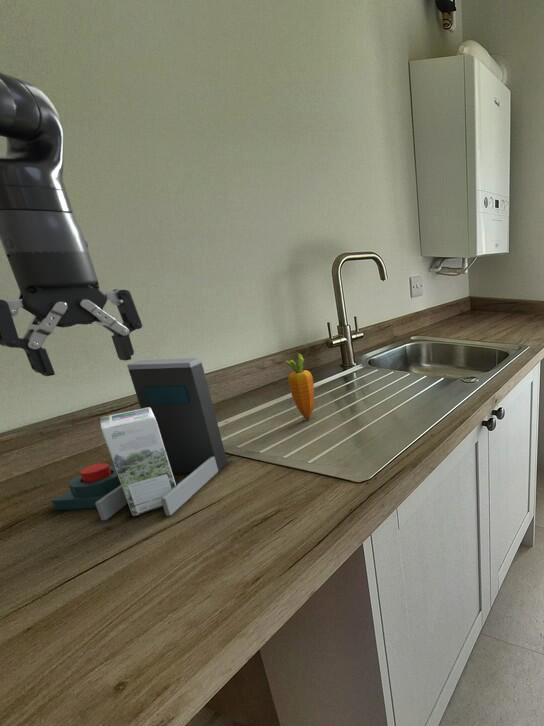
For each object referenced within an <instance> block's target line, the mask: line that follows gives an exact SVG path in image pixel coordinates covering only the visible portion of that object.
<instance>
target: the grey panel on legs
mask: <svg viewBox="0 0 544 726" xmlns="http://www.w3.org/2000/svg"><path fill="white" fill-rule="evenodd" d="M126 367H127V370H128V372H129V376H130V379H131V382H132V386H133V388H134V392H135V394H136V397H137V401H138V404H139V407H140V409H143V408H147V407H150V408H151V409H152V412H153V414H154V417H155V419H156V421H157V424H158V428H159V431H160V434H161V438H162V441H163V444H164V448H165V451H166V454H167V458H168V461H169V464H170V468H171V471H172V474H173V475H180V474H181V475H182V474H189V475H187V476H186V477H185V478H183V479H182V480H181V481H180V482H179V483H178V484H176V486H175V487H174V488H173V489H172V490H170V491H169V492H168V493H167V494H166V495H164V496H163V497H162V498H161V501H162V504H163V507H162V508H163V511H164V513H165V516H166V517H169V516H170V517H171V516H172V515H173V514H174V513H176V511H178V509H179V508H181V507H182V506H183V505H184V504H185V503H186V502H187V501H188V500H190V498H192V497H193V496H194V495H195V494H196V493H197V492H198V491H199V490H200V489H202V487H203V486H205V485H206V484H207V483H208V482H209V481H210V480H211V479H213V477H214V476H216V475H217V474H218V473H219V472H220V471H221V470H222V469H223V468H224V467H225V466H226V465H227V464H228V463H229V462H228V459H227V458H228V457H227V454H226V449H225V446H224V443H223V440H222V435H221V432H220V427H219V423H218V419H217V415H216V412H215V408H214V405H213V400H212V397H211V392H210V389H209V386H208V382H207V376H206V373H205V369H204V366H203V362H202V358H201V357H193V358H192V357H190V358H189V357H188V358H187V357H185V358H161V359H155V358H154V359H139V360H137V361H134V362H131V363H129V364H126ZM95 504H96V509H97V512H98V514H99V517H100V520H101V521H107V520H108V519H109V518H111V517H113V516H114V515H115V514H116V513H117V512H119V511H120V510H121V509H123V508H124V507H125V506H127V505H128V502H127V499H126V496H125V493H124V491H123V488H122V485H120V486H119V487H117V488H116V489H114V490H113V491H111V492H110V493H108V494H107V495H106V496H104V497H103V498H101V499H100V500H98V501H97V502H96V503H95Z"/></svg>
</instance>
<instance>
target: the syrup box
mask: <svg viewBox="0 0 544 726" xmlns="http://www.w3.org/2000/svg"><path fill="white" fill-rule="evenodd" d="M99 422H100V429H101V434H102V436H103V438H104V441H105V444H106V446H107V449H108V451H109V455H110V457H111V461H112V464H113V466H115V469H116V472H117V474H118V477H119V480H120V482H121V485H122V488H123V491H124V493H125V496H126V499H127V502H128V504H127V505H128V507H129V510H130V513H131V516H132V517H137V516H140V515H143V514H145V513H148V512H151V511H154V510H158V509H161V508H164V507H163V504H162V501H161V498H162V497H163V496H164V495H166V494H167V493H168V492H169V491H170V490H172V489H173V488H174V487H175V486H176V485H177V484H176V481H175V477H174V474H172V471H171V468H170V464H169V461H168V458H167V454H166V451H165V448H164V444H163V441H162V438H161V434H160V431H159V428H158V424H157V421H156V419H155V417H154V414H153V412H152V409H151V408H150V407H147V408H143V409H141V408H139V409H138V408H137V409H134V410H129V411H123V412H119V413H113V414H110V415H105V416H100V420H99Z"/></svg>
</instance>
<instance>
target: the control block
mask: <svg viewBox="0 0 544 726" xmlns="http://www.w3.org/2000/svg"><path fill="white" fill-rule="evenodd" d="M109 468H110V470H111V473H112V474H111V475H110V476H108V477H106V478H104V479H101V480H98V481H94V482H87V483H84V482H83V480H82V477H81V475H80V474H79V475H77V476H75V477H74V478H72V479H71V480H70V481H69V483H68V487H69V490H67V491H65V492H63V493H62V494H61V495H59V496H57V497H55V498H54V499H52V500H51V502H52V505H53V506H54V509H55V510H56V511H63V510H65V511H66V510H78V509H79V510H80V509H95V508H96V509H97V507H96V504H95V503H96V502H97V501H98V500H100V499H101V498H103V497H104V496H106V495H107V494H108V493H110V492H111V491H113V490H114V489H116V488H117V487H119V486H120V485H121V482H120V480H119V477H118V474H117V472H116V469H115V466H114V465H112V466H111V465H109Z"/></svg>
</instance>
